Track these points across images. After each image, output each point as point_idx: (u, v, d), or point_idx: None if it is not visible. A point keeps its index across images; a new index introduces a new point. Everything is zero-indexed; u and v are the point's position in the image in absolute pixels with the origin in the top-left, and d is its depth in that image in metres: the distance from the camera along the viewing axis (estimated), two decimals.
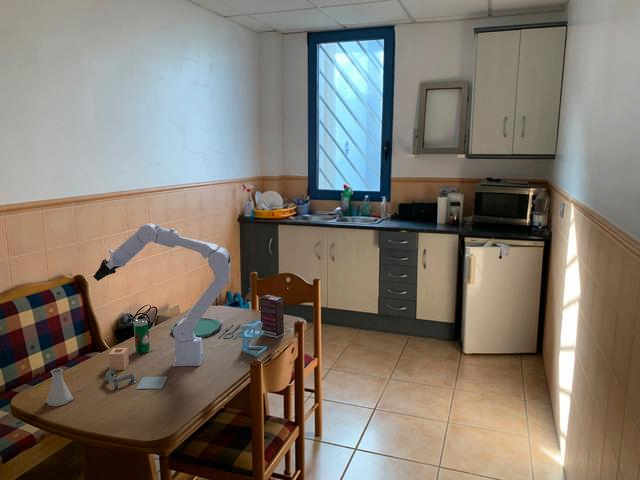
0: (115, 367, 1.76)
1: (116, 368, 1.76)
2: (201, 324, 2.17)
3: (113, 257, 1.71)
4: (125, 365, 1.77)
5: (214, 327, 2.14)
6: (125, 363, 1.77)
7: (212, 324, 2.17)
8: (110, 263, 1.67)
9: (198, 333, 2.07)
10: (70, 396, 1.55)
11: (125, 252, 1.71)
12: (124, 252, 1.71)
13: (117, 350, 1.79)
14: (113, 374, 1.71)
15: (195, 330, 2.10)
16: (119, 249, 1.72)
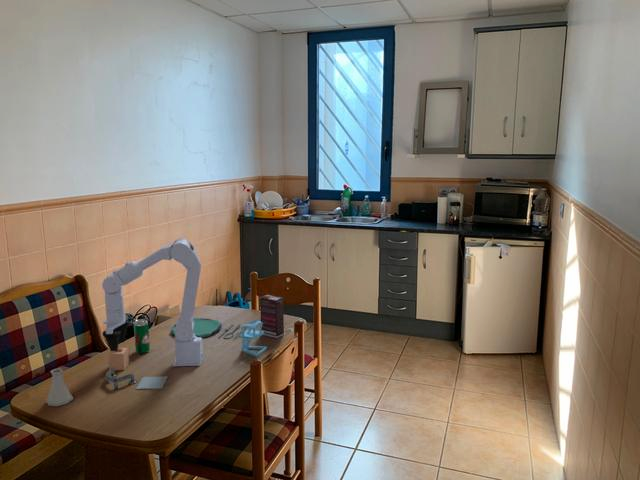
0: (115, 367, 1.76)
1: (116, 368, 1.76)
2: (201, 324, 2.17)
3: (109, 324, 1.73)
4: (125, 365, 1.77)
5: (214, 327, 2.14)
6: (125, 363, 1.77)
7: (212, 324, 2.17)
8: (107, 329, 1.68)
9: (198, 333, 2.07)
10: (70, 396, 1.55)
11: (112, 312, 1.72)
12: (111, 313, 1.72)
13: (117, 350, 1.79)
14: (113, 374, 1.71)
15: (195, 330, 2.10)
16: (107, 314, 1.73)
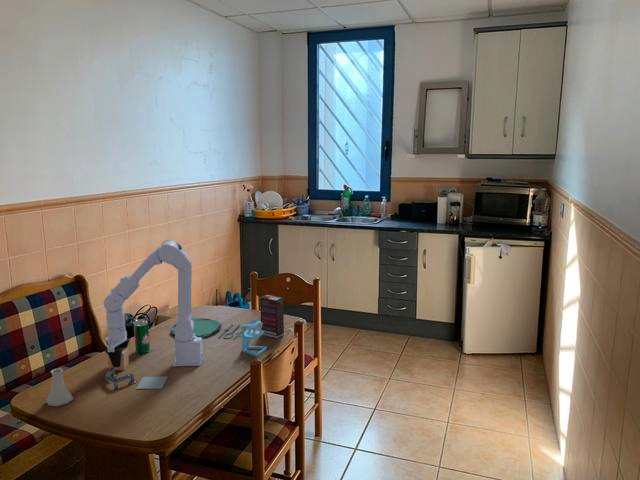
0: (115, 367, 1.76)
1: (116, 368, 1.76)
2: (200, 324, 2.17)
3: (110, 341, 1.74)
4: (125, 365, 1.77)
5: (214, 327, 2.14)
6: (125, 363, 1.77)
7: (211, 324, 2.17)
8: (109, 348, 1.70)
9: (198, 333, 2.07)
10: (70, 396, 1.55)
11: (113, 330, 1.73)
12: (113, 330, 1.73)
13: None
14: (113, 374, 1.71)
15: (195, 330, 2.10)
16: (108, 332, 1.74)
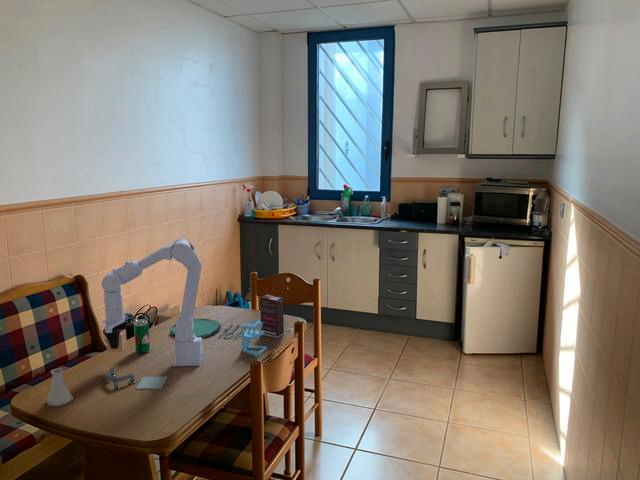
0: (113, 349, 1.74)
1: (114, 350, 1.74)
2: (200, 324, 2.17)
3: (108, 323, 1.72)
4: (123, 347, 1.75)
5: (213, 327, 2.13)
6: (123, 345, 1.75)
7: (211, 324, 2.17)
8: (106, 328, 1.68)
9: (197, 333, 2.07)
10: (70, 396, 1.55)
11: (111, 311, 1.71)
12: (110, 311, 1.71)
13: None
14: (113, 374, 1.71)
15: (194, 330, 2.10)
16: (106, 313, 1.72)
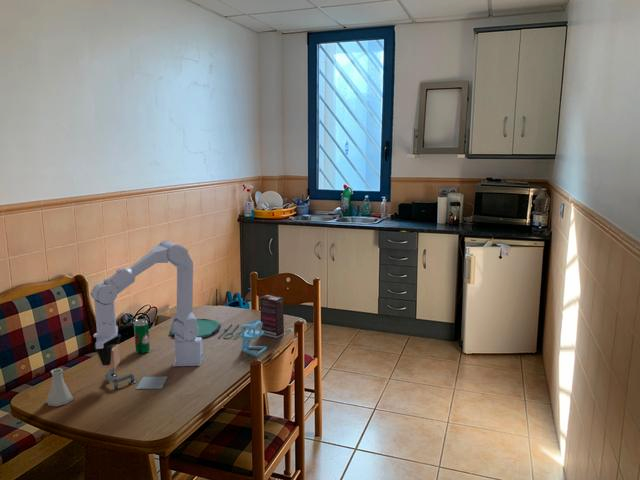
0: (104, 365, 1.61)
1: (106, 366, 1.61)
2: (199, 325, 2.16)
3: (99, 337, 1.59)
4: (115, 363, 1.63)
5: (213, 327, 2.13)
6: (115, 361, 1.63)
7: (210, 324, 2.17)
8: (97, 344, 1.55)
9: None
10: (70, 396, 1.55)
11: (103, 324, 1.58)
12: (102, 325, 1.58)
13: None
14: (113, 374, 1.71)
15: None
16: (97, 327, 1.59)
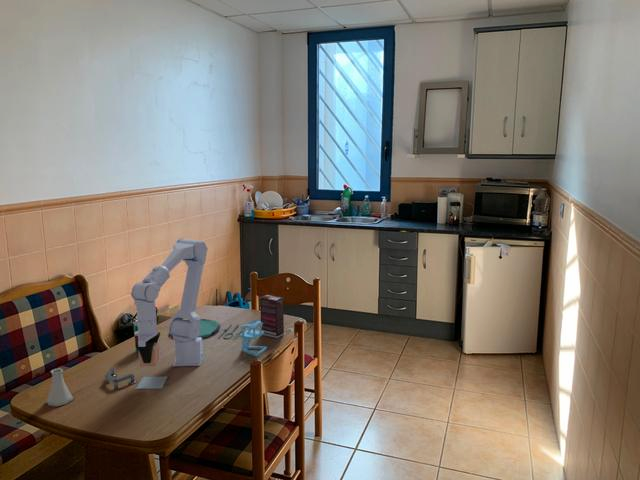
0: (145, 363, 1.63)
1: (146, 364, 1.63)
2: None
3: (141, 335, 1.61)
4: (156, 361, 1.64)
5: (212, 328, 2.13)
6: (156, 359, 1.64)
7: (210, 325, 2.16)
8: (140, 342, 1.56)
9: None
10: (70, 396, 1.55)
11: (144, 323, 1.60)
12: (143, 324, 1.60)
13: None
14: (113, 374, 1.71)
15: None
16: (138, 325, 1.61)
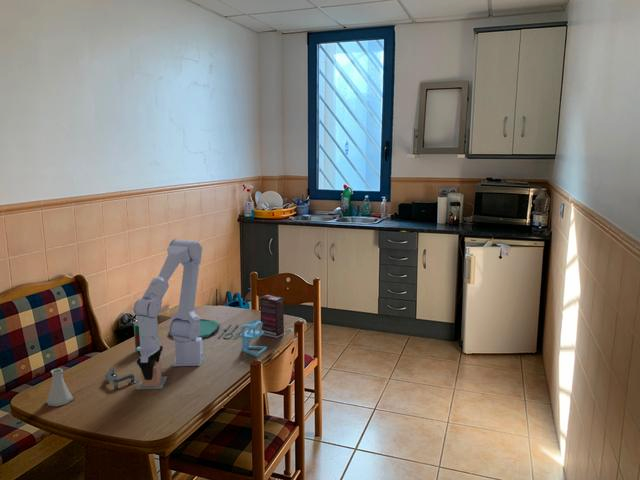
0: (148, 383, 1.64)
1: (149, 384, 1.64)
2: None
3: (143, 351, 1.62)
4: (158, 380, 1.65)
5: (212, 328, 2.13)
6: (158, 378, 1.65)
7: (209, 325, 2.16)
8: (142, 358, 1.57)
9: None
10: (70, 396, 1.55)
11: (146, 338, 1.61)
12: (146, 339, 1.61)
13: None
14: (113, 374, 1.71)
15: None
16: (141, 341, 1.62)
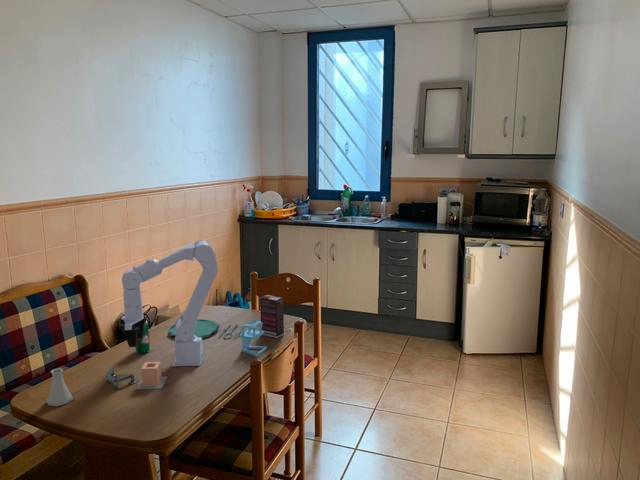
0: (148, 383, 1.64)
1: (149, 384, 1.64)
2: (198, 325, 2.16)
3: (127, 320, 1.72)
4: (158, 380, 1.65)
5: (211, 328, 2.13)
6: (158, 378, 1.65)
7: (209, 325, 2.16)
8: (126, 325, 1.67)
9: (196, 334, 2.06)
10: (70, 396, 1.55)
11: (130, 308, 1.71)
12: (130, 308, 1.71)
13: (149, 364, 1.67)
14: (113, 374, 1.71)
15: None
16: (125, 310, 1.72)
